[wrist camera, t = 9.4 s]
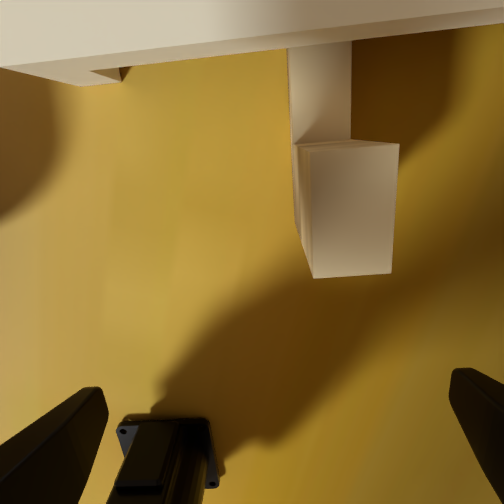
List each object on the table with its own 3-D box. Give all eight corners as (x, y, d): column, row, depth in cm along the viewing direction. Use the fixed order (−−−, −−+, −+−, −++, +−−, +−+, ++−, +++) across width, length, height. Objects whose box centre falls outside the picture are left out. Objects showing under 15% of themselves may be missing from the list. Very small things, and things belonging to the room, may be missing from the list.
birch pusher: (395, 214, 17) (479, 267, 10) (243, 226, 17) (230, 284, 11) (420, -164, 12) (613, -530, 5) (205, -130, 12) (139, -424, 6)
